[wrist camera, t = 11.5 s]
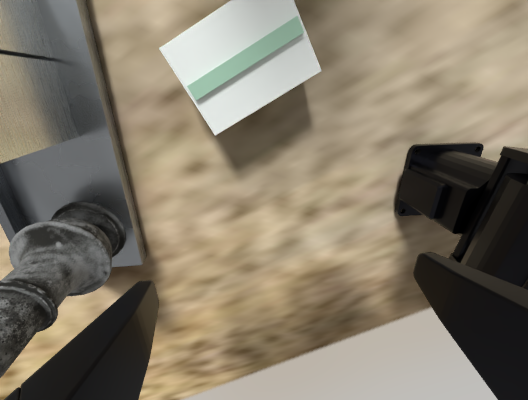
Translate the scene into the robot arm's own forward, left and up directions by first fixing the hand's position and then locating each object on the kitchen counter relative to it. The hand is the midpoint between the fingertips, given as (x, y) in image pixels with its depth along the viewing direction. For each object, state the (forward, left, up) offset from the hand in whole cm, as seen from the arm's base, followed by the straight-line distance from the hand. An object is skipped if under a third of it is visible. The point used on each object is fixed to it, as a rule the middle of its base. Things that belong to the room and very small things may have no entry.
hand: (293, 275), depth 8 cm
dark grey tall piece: (+13, +5, -12) cm, 18 cm away
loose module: (+1, -7, -13) cm, 15 cm away
